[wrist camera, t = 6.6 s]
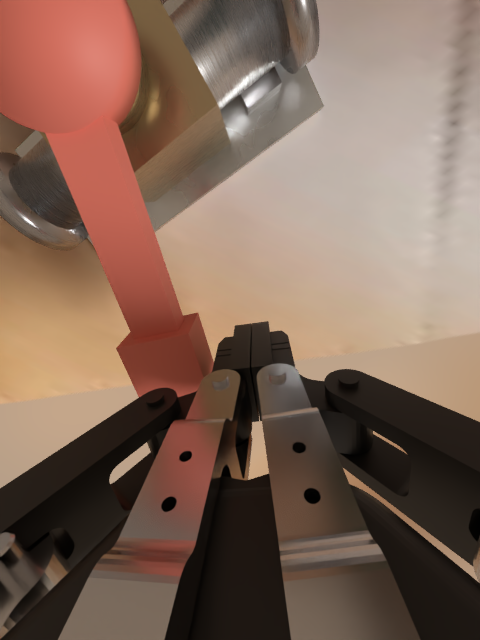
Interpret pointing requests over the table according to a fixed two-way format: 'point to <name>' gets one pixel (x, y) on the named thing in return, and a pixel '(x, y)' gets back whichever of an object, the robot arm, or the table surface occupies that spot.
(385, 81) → the table surface
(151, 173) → the valve
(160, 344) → the lever
